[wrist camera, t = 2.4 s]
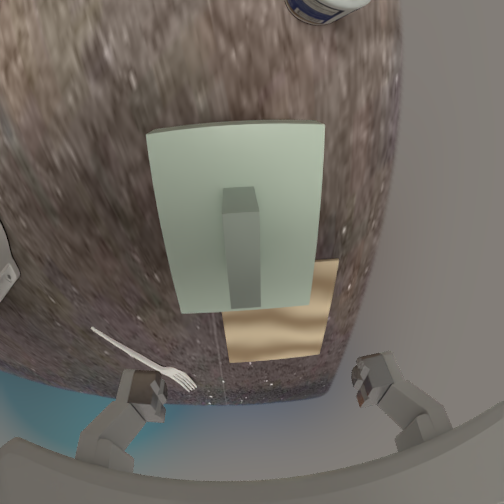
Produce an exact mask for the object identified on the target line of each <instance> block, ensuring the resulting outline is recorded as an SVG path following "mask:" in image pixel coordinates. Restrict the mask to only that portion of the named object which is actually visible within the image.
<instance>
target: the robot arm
mask: <svg viewBox="0 0 504 504" xmlns="http://www.w3.org/2000/svg"><path fill="white" fill-rule="evenodd" d="M19 276H20V272H19V269H18V267H17V265H16V264H15V262H14V260H13V258H12V256H11V252H10V248H9V244H8V240H7V237H6V234H5V232H4V229H3V227H2V225H1V223H0V302H1V301H2V300H3V298H4V297H5V295H6V294H7V293H8V291H9V290H10V289H11V287H12V286H13V285H14V283H15V282H16V281H17V279H18V278H19ZM356 363H357V365H356V366H355V367H354V368H353V370H352V376H351V378H352V384H353V387H354V388H355V389H357V390H358V393H357V395H356V397H357V400H358V403H359V406H360V408H363V407H368V406H373V405H377V404H378V405H377V406H378V407H379V408H380V409H382V410H383V411H384V412H385V413H386V414H387V415H388V416H389V417H390V418H391V419H392V420H393V421H394V422H395V423H396V424H397V425H398V426H399V427H401V428H402V429H403V431H402V432H401V433H400V434H398V435H397V436H396V438H395V443H396V446H397V449H398V452H397V453H394V454H391V455H388V456H385V457H382V458H379V459H375V460H372V461H369V462H365V463H362V464H357V465H354V466H350V467H346V468H341V469H337V470H332V471H327V472H322V473H316V474H310V475H304V476H297V477H290V478H281V479H270V480H258V481H257V480H256V481H221V482H220V481H194V480H180V479H169V478H161V477H153V476H146V475H141V474H135V473H133V467H134V459H133V457H132V456H130V455H129V454H127V453H126V452H124V450H125V449H126V448H127V446H128V445H129V444H130V443H131V441H132V440H133V439H134V437H135V436H136V435H137V434H138V432H139V431H140V430H141V429H142V427H143V426H144V425H145V423H146V422H145V421H147V422H162V423H164V420H165V412H166V409H165V407H164V406H163V404H164V403H165V402H166V401H167V395H168V393H167V385H166V383H165V381H164V380H162V379H161V377H162V375H161V373H160V371H148V370H135V369H125V370H124V371H123V374H122V377H121V381H120V385H119V389H118V393H117V398H116V401H113V402H111V403H110V404H109V405H108V406H107V407H106V408H105V409H104V410H103V411H102V412H101V413H100V414H99V415H98V416H97V417H96V418H95V419H94V420H93V421H92V422H91V423H90V424H89V425H88V426H87V427H86V428H85V429H84V430H83V431H82V432H81V433H80V438H79V442H78V447H77V451H76V456H75V459H74V458H71V457H68V456H65V455H62V454H59V453H56V452H54V451H51V450H48V449H46V448H43V447H41V446H38V445H36V444H34V443H31V442H29V441H26V440H24V439H22V438H19V437H15V438H13V439H12V440H10V441H8V442H7V443H6V444H5V445H3V446H2V447H1V448H0V504H504V401H502V402H500V403H498V404H496V405H495V406H493V407H491V408H490V409H488V410H486V411H485V412H483V413H481V414H480V415H478V416H476V417H474V418H473V419H471V420H469V421H467V422H465V423H463V424H462V425H460V426H458V427H456V428H454V429H453V428H452V425H451V423H450V420H449V418H448V416H447V413H446V411H445V408H444V406H443V405H442V404H440V403H439V402H438V401H436V400H435V399H433V398H432V397H431V396H429V395H428V394H426V393H425V392H424V391H422V390H421V389H419V388H418V387H417V386H415V385H414V384H413V383H411V382H410V381H408V380H404V377H403V375H402V372H401V370H400V368H399V366H398V363H397V361H396V359H395V357H394V355H393V353H392V352H391V351H386V352H382V353H376V354H371V355H367V356H362V357H359V358H358V359H357V360H356Z"/></svg>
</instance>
